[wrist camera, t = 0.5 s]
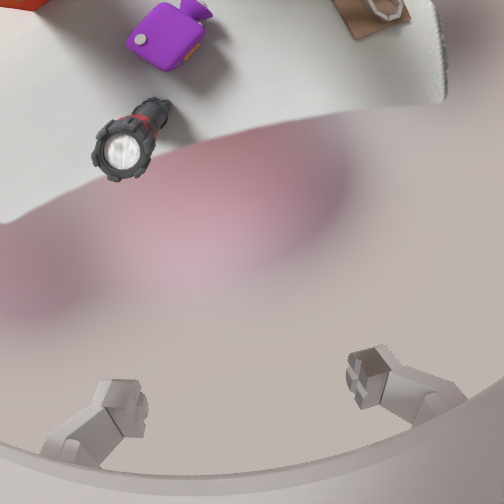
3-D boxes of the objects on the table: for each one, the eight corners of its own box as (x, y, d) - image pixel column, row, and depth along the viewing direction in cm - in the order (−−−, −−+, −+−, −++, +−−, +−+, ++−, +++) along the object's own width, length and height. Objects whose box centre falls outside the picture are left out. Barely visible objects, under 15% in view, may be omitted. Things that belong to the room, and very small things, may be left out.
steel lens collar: (353, -11, 34) (360, -13, 32) (383, -19, 32) (390, -20, 30) (373, 24, 39) (380, 24, 37) (400, 15, 38) (407, 14, 36)
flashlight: (123, 130, 46) (85, 178, 29) (134, 91, 42) (96, 115, 25) (161, 139, 49) (146, 190, 32) (174, 100, 45) (163, 128, 28)
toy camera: (220, 15, 37) (228, 5, 29) (181, 76, 43) (178, 79, 35) (168, -8, 32) (163, -22, 24) (128, 54, 38) (115, 54, 30)
